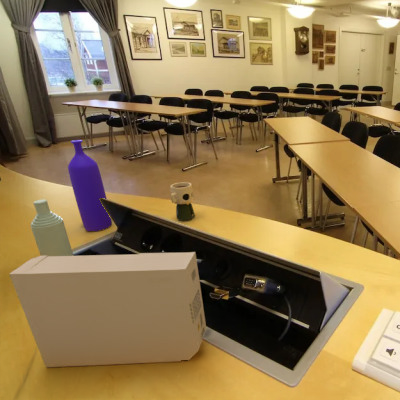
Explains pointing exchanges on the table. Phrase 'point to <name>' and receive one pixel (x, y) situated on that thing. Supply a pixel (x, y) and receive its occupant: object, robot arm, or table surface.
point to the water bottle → (50, 231)
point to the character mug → (183, 200)
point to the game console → (112, 307)
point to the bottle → (88, 190)
